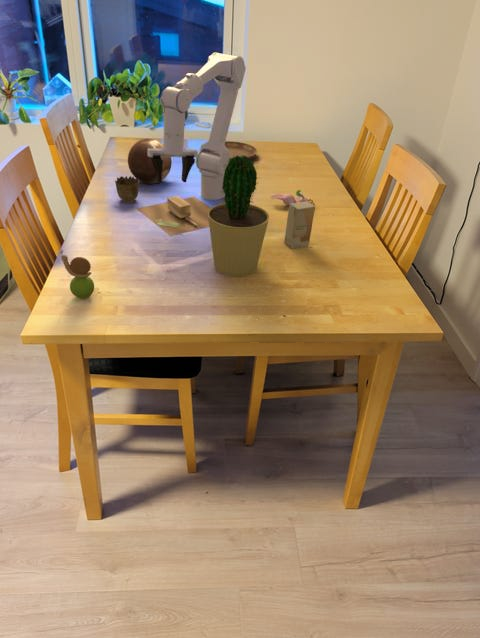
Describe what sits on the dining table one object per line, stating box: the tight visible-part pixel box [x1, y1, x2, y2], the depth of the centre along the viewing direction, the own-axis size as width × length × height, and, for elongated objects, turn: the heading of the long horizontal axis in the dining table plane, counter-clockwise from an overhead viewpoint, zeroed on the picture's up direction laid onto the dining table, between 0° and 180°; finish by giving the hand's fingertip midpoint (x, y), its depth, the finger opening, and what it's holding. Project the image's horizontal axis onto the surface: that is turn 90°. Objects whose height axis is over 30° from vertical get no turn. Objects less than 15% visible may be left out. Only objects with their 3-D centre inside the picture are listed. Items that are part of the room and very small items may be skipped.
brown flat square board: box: [136, 196, 212, 237], centre depth 160 cm, size 21×22×1 cm
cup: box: [114, 176, 140, 203], centre depth 165 cm, size 8×7×8 cm
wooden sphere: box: [127, 138, 172, 185], centre depth 179 cm, size 15×15×15 cm
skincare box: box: [283, 201, 316, 249], centre depth 147 cm, size 6×4×12 cm
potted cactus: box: [208, 154, 270, 278], centre depth 129 cm, size 15×15×30 cm
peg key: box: [166, 195, 197, 226], centre depth 157 cm, size 4×14×4 cm, turn 35°
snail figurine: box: [59, 249, 95, 299], centre depth 118 cm, size 5×6×12 cm
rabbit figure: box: [270, 189, 316, 207], centre depth 172 cm, size 6×6×15 cm
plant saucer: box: [211, 140, 258, 161], centre depth 212 cm, size 21×21×3 cm
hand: (171, 181), depth 153 cm, fingers open, 7 cm apart
